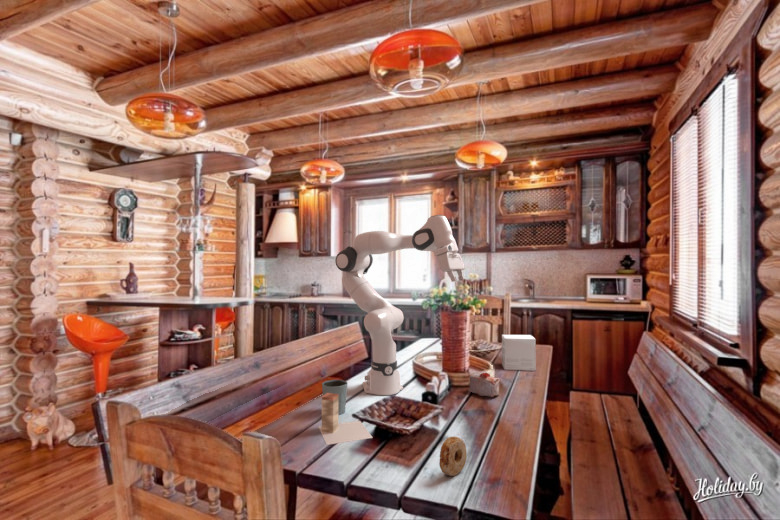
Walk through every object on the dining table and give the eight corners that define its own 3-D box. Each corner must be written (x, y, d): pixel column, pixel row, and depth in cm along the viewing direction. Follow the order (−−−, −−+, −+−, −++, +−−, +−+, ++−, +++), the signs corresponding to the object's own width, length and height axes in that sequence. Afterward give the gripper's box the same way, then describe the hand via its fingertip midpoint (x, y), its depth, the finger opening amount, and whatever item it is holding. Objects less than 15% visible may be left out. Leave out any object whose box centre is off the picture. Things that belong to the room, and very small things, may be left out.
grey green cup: (319, 417, 160) (319, 386, 160) (324, 407, 170) (324, 379, 170) (345, 417, 160) (345, 386, 160) (348, 408, 170) (348, 379, 170)
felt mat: (318, 427, 150) (318, 426, 150) (360, 421, 156) (360, 420, 156) (326, 445, 135) (326, 444, 135) (372, 438, 141) (372, 437, 141)
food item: (502, 395, 187) (502, 373, 187) (494, 399, 181) (494, 377, 181) (475, 389, 196) (475, 368, 196) (467, 393, 190) (467, 372, 190)
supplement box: (531, 365, 241) (531, 334, 241) (536, 371, 228) (536, 338, 228) (501, 364, 243) (501, 333, 244) (504, 370, 230) (504, 338, 230)
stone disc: (448, 482, 113) (448, 446, 113) (437, 477, 116) (437, 442, 116) (469, 468, 121) (469, 435, 121) (458, 464, 123) (458, 431, 123)
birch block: (321, 431, 146) (321, 396, 146) (327, 426, 150) (327, 392, 150) (333, 433, 144) (333, 397, 144) (338, 428, 149) (338, 394, 149)
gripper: (449, 253, 186) (459, 282, 183) (432, 252, 168) (442, 284, 165) (462, 248, 183) (472, 277, 180) (445, 246, 165) (456, 279, 163)
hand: (458, 280), depth 173 cm, fingers open, 8 cm apart
